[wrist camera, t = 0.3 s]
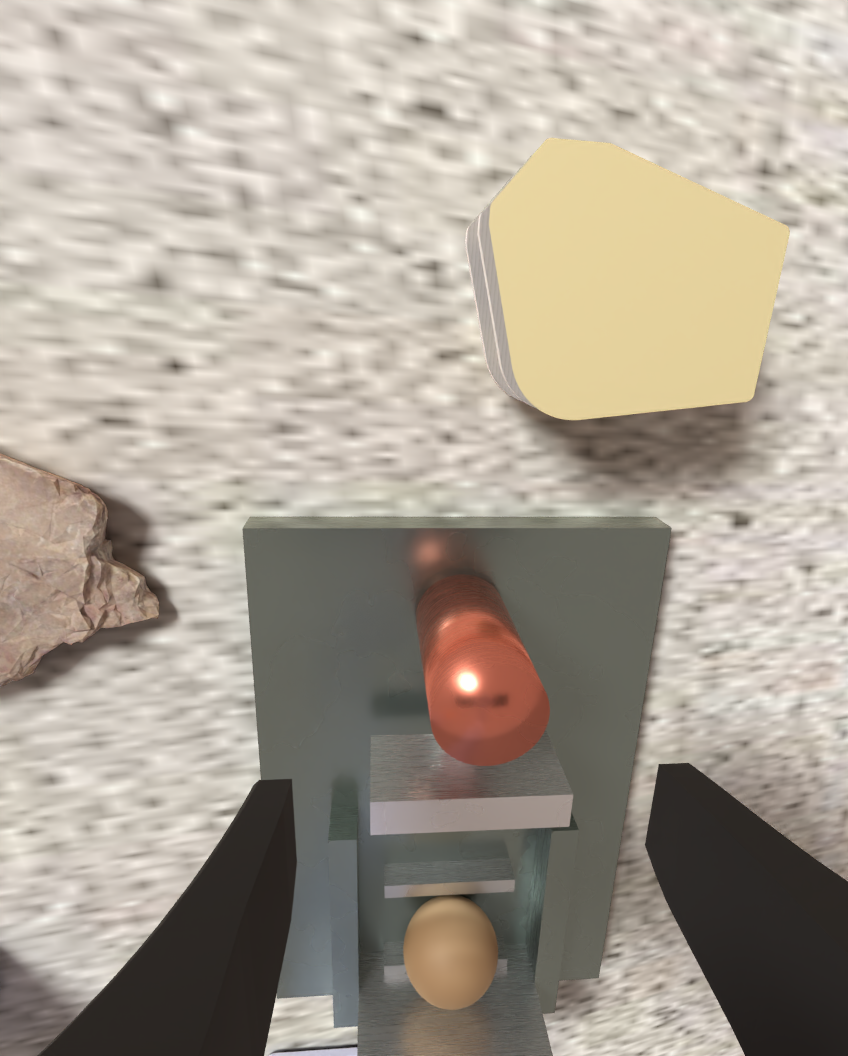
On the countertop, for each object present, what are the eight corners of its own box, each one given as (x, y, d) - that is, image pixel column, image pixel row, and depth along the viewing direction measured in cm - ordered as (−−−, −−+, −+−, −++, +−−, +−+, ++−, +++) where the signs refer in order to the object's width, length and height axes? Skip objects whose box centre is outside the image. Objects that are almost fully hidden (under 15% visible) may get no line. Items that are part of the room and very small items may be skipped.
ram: (535, 745, 22) (584, 874, 17) (371, 750, 22) (369, 884, 16) (552, 573, 20) (615, 661, 15) (370, 575, 19) (369, 665, 14)
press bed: (589, 951, 28) (644, 1111, 22) (281, 969, 27) (256, 1143, 21) (655, 517, 21) (757, 586, 16) (249, 516, 20) (201, 591, 14)
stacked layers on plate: (742, 155, 18) (889, 85, 13) (685, 449, 21) (789, 489, 16) (411, 125, 17) (428, 37, 12) (398, 437, 20) (406, 475, 15)
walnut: (486, 936, 25) (503, 1030, 22) (400, 941, 25) (404, 1037, 22) (491, 870, 24) (510, 958, 21) (401, 874, 24) (406, 965, 21)
